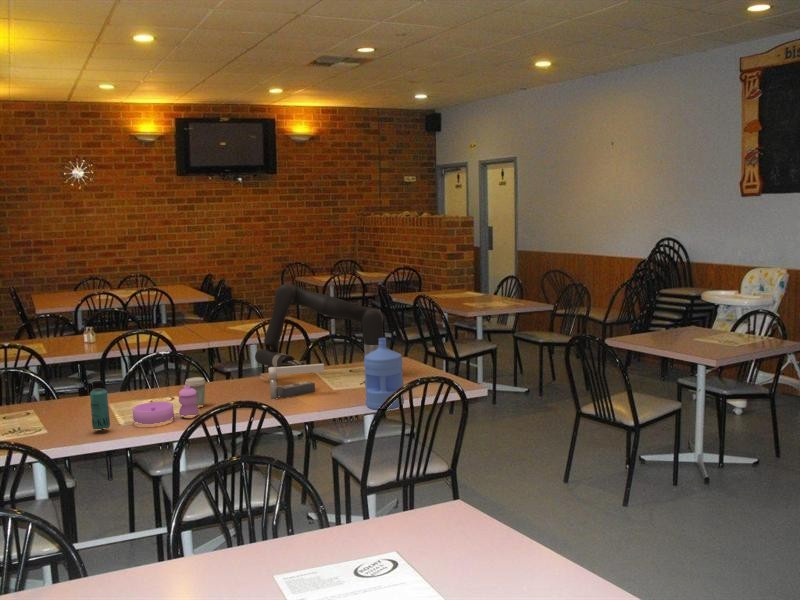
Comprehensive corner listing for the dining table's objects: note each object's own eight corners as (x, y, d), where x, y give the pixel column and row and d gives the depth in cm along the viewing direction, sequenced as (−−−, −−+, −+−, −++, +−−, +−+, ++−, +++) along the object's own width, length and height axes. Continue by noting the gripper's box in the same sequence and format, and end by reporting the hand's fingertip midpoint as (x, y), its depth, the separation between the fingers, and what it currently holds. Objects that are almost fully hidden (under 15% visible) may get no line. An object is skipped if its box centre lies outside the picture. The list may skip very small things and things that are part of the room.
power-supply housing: (284, 398, 342) (283, 388, 341) (277, 396, 346) (276, 386, 346) (315, 391, 352) (314, 382, 351) (308, 389, 356) (307, 380, 356)
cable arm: (269, 379, 339) (268, 368, 338) (268, 377, 342) (268, 367, 342) (324, 374, 344) (324, 364, 343) (323, 372, 347) (323, 362, 347)
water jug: (367, 400, 333) (364, 335, 329) (404, 399, 332) (402, 334, 328) (364, 411, 318) (361, 342, 314) (403, 410, 317) (400, 341, 313)
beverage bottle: (95, 430, 305) (90, 379, 302) (113, 428, 306) (108, 378, 303) (90, 435, 299) (85, 383, 296) (108, 434, 299) (103, 382, 296)
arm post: (272, 397, 344) (270, 377, 343) (278, 397, 344) (277, 377, 342) (270, 399, 341) (268, 379, 340) (277, 399, 341) (275, 379, 339)
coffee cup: (182, 408, 331) (180, 381, 330) (194, 403, 339) (192, 376, 337) (199, 410, 328) (197, 382, 326) (211, 404, 336) (209, 377, 334)
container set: (135, 430, 303) (132, 396, 302) (132, 420, 317) (129, 388, 316) (201, 420, 313) (199, 388, 311) (196, 411, 327) (193, 380, 325)
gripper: (270, 356, 354) (289, 362, 340) (296, 352, 362) (316, 357, 348) (271, 372, 355) (290, 379, 341) (296, 368, 363) (316, 374, 349)
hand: (303, 368), depth 345 cm, fingers closed
